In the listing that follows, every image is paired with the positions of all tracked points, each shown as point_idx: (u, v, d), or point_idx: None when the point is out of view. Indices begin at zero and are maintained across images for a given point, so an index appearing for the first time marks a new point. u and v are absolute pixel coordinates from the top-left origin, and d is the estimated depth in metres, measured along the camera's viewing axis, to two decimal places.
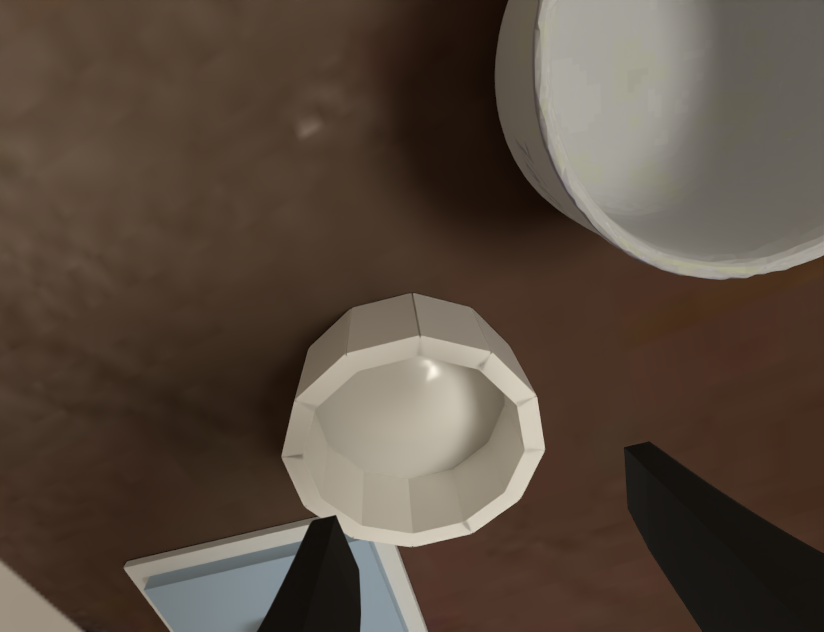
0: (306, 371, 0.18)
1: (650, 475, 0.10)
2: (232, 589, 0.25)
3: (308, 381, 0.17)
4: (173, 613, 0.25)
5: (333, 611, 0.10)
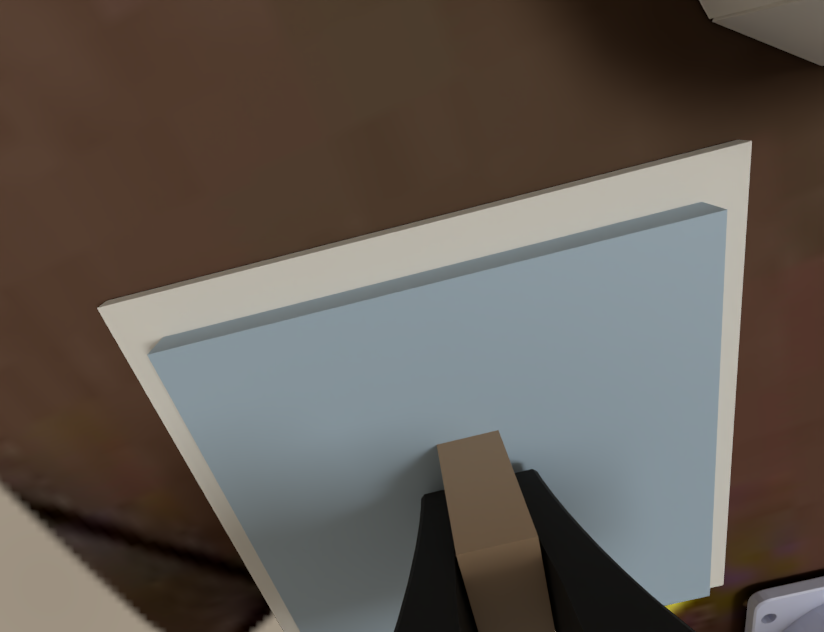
0: None
1: None
2: (365, 363, 0.10)
3: None
4: (219, 429, 0.11)
5: (463, 581, 0.10)
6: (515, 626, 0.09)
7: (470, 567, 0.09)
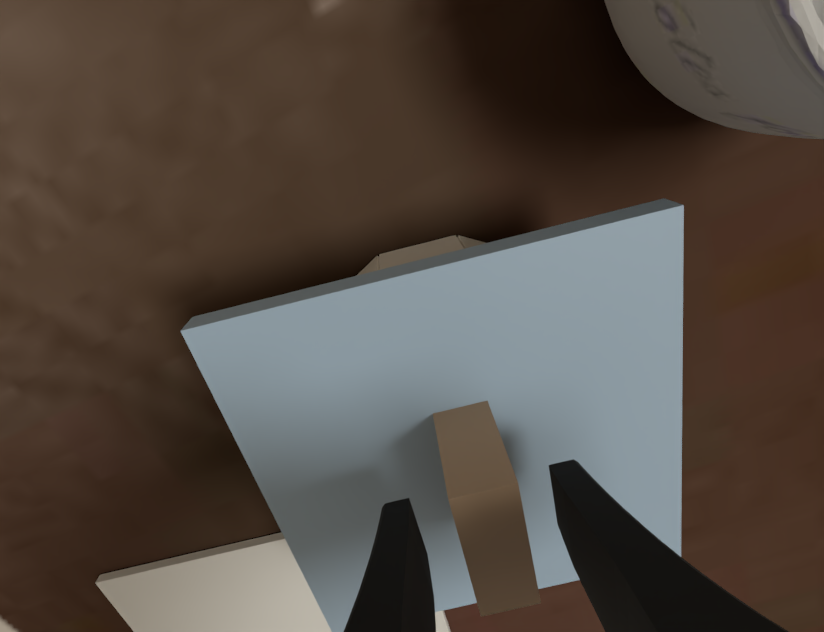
0: None
1: (566, 494, 0.10)
2: (370, 340, 0.12)
3: None
4: (242, 398, 0.12)
5: (417, 592, 0.10)
6: (500, 566, 0.11)
7: (460, 510, 0.10)
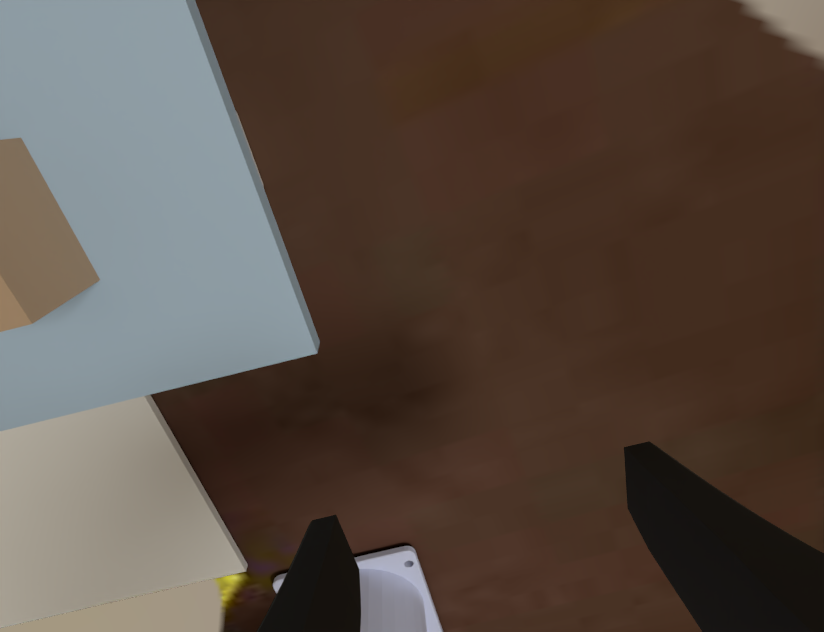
0: None
1: (650, 475, 0.10)
2: None
3: None
4: None
5: (333, 611, 0.10)
6: None
7: None
